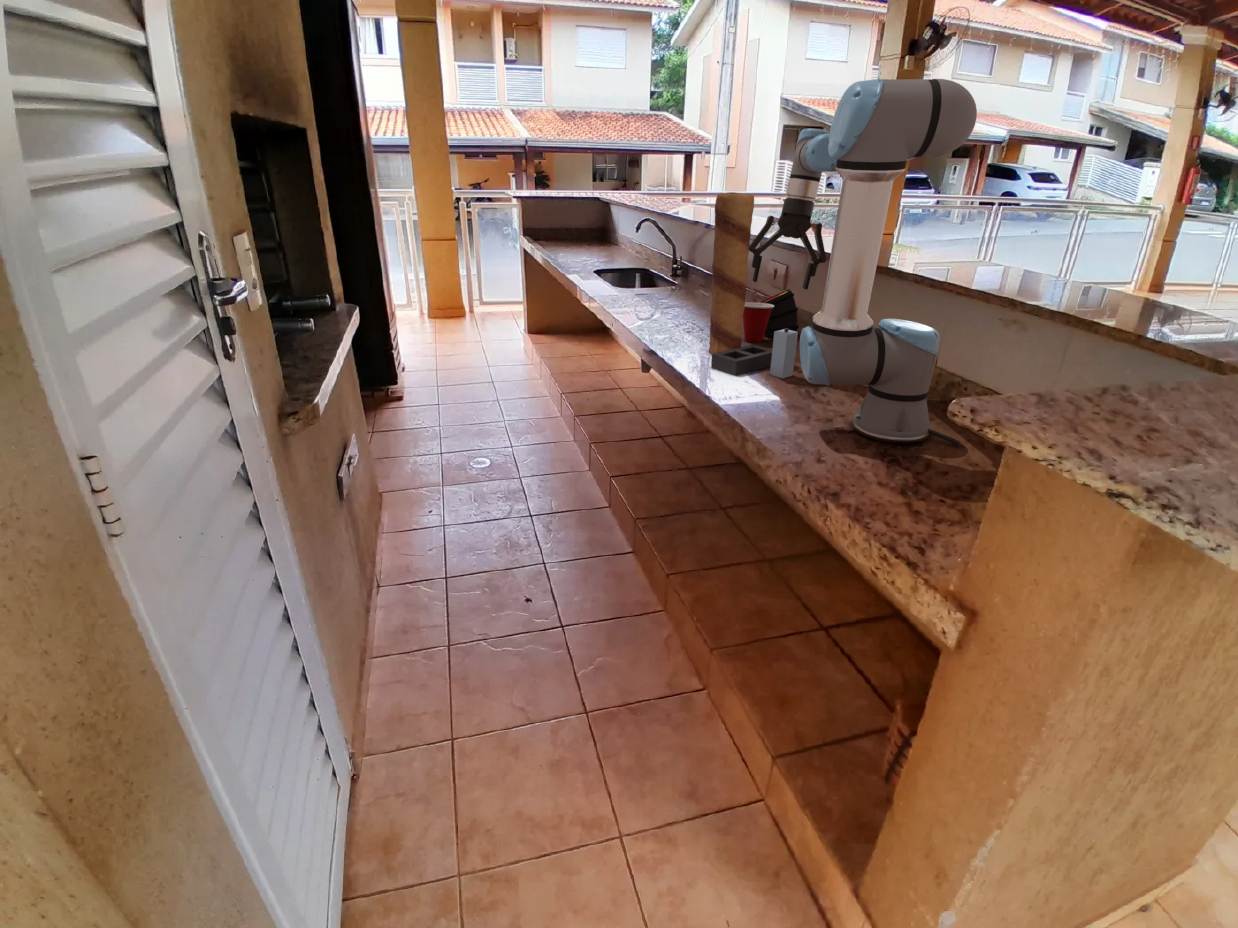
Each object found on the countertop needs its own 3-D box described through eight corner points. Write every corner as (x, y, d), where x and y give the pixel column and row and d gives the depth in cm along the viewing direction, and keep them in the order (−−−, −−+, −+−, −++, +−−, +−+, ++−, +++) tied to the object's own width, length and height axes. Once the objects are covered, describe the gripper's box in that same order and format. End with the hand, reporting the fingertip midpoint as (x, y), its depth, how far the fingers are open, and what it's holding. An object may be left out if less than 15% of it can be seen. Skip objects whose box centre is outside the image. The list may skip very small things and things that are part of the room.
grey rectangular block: (792, 375, 168) (798, 329, 162) (782, 378, 166) (787, 331, 160) (780, 371, 171) (785, 326, 166) (769, 374, 169) (774, 328, 163)
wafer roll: (712, 346, 196) (721, 192, 176) (744, 349, 192) (758, 192, 172) (701, 354, 187) (710, 193, 167) (735, 358, 183) (748, 194, 163)
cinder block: (776, 364, 177) (777, 351, 175) (735, 375, 168) (736, 361, 166) (751, 357, 184) (752, 344, 182) (711, 367, 175) (711, 354, 173)
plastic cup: (775, 338, 203) (779, 302, 198) (763, 346, 195) (767, 308, 190) (744, 334, 209) (747, 298, 203) (732, 341, 200) (734, 304, 195)
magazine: (807, 331, 205) (792, 290, 199) (769, 348, 208) (754, 307, 202) (804, 328, 208) (789, 288, 203) (767, 345, 211) (752, 305, 205)
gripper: (844, 206, 158) (822, 290, 167) (749, 191, 158) (731, 276, 166) (853, 206, 151) (829, 294, 160) (753, 191, 151) (735, 279, 160)
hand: (779, 285), depth 163 cm, fingers open, 13 cm apart
